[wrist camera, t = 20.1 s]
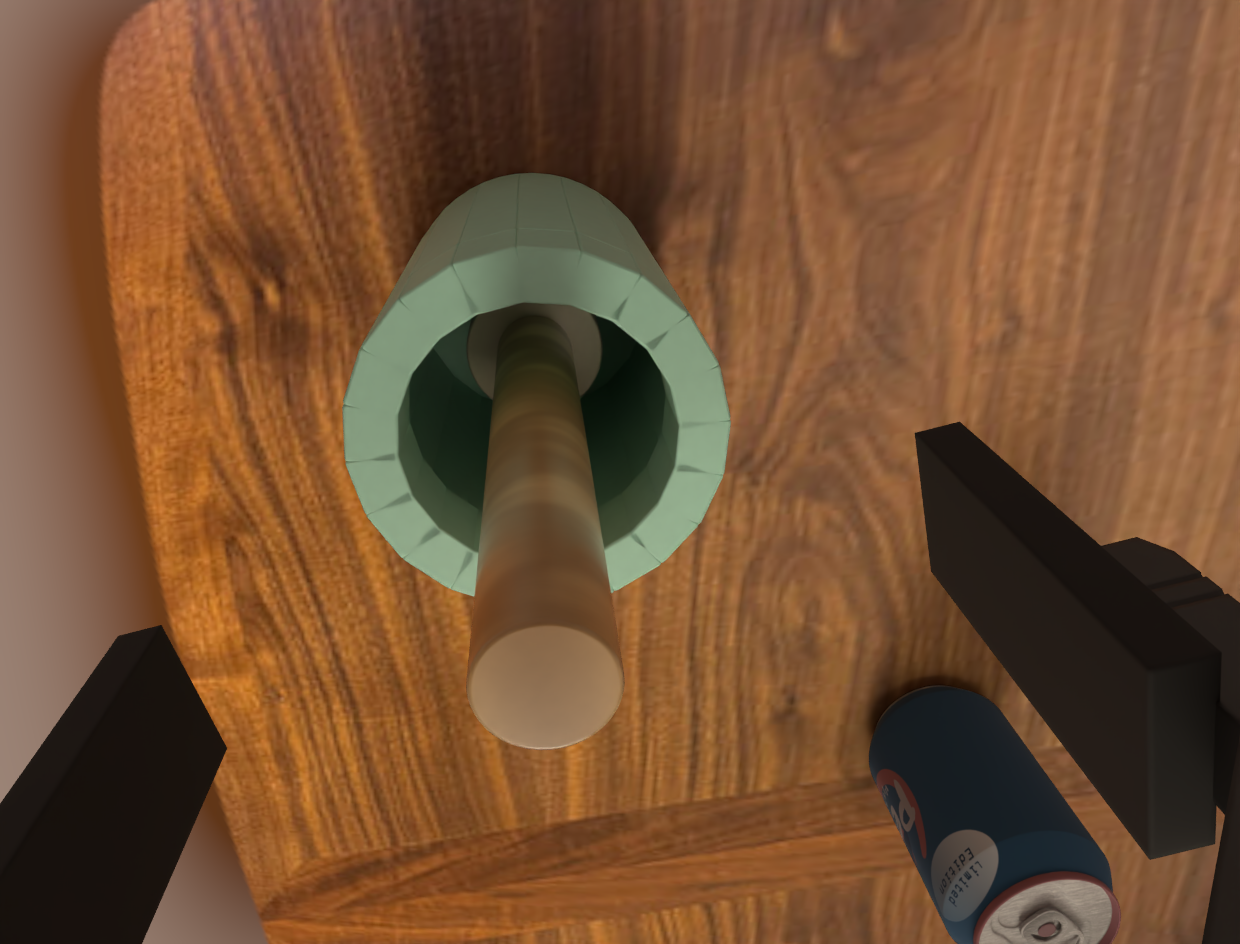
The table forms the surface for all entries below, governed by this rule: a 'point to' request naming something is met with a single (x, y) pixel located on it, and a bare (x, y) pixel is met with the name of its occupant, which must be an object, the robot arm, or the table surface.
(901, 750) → the soda can
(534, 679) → the wooden dowel
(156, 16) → the table surface
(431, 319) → the green faceted hollow cylinder
